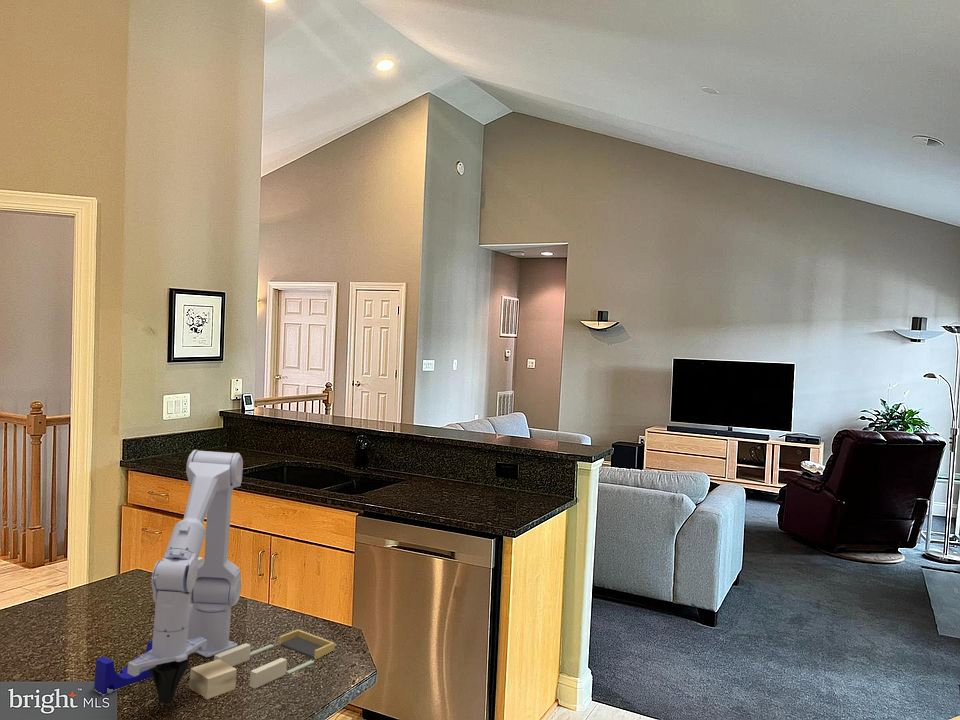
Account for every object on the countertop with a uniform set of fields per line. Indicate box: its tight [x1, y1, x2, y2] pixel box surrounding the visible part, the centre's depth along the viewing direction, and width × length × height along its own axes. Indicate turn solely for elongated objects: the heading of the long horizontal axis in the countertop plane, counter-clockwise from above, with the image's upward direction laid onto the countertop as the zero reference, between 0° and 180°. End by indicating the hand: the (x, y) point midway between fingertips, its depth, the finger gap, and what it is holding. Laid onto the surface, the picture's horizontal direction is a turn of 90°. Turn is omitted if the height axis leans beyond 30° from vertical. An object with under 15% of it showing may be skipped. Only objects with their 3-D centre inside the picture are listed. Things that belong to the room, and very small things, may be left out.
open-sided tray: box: [278, 629, 336, 660], centre depth 159 cm, size 11×6×2 cm, turn 59°
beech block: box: [188, 659, 238, 700], centre depth 137 cm, size 6×6×4 cm
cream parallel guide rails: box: [213, 642, 288, 689], centre depth 145 cm, size 12×8×3 cm, turn 59°
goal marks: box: [250, 644, 315, 675], centre depth 152 cm, size 13×7×1 cm, turn 59°
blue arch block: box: [93, 639, 153, 694], centre depth 138 cm, size 12×4×6 cm, turn 149°
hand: (165, 701), depth 129 cm, fingers closed
